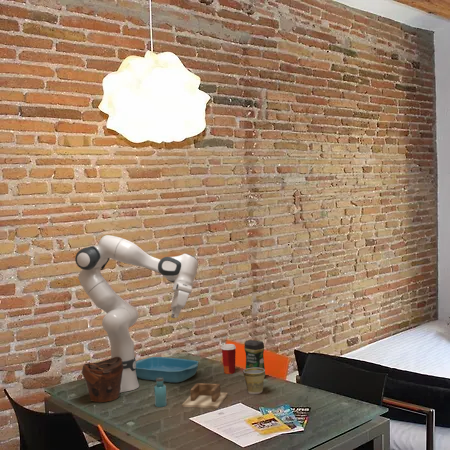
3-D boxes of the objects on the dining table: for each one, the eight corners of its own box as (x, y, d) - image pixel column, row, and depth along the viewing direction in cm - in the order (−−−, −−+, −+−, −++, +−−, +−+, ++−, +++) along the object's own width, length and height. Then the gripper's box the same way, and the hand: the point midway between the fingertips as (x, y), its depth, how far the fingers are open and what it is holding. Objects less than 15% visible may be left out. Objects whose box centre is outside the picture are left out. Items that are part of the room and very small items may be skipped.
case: (74, 402, 278) (72, 363, 277) (102, 389, 296) (101, 352, 295) (105, 407, 270) (103, 367, 269) (132, 394, 287) (131, 356, 287)
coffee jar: (242, 378, 304) (241, 341, 303) (252, 374, 310) (250, 337, 310) (259, 381, 298) (257, 343, 297) (268, 376, 304) (266, 339, 304)
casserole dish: (123, 379, 313) (122, 365, 313) (149, 367, 332) (148, 354, 332) (183, 387, 295) (183, 372, 295) (207, 374, 314) (207, 360, 314)
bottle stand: (181, 406, 266) (181, 393, 266) (194, 393, 283) (193, 380, 283) (217, 408, 262) (216, 394, 262) (227, 394, 279) (227, 381, 279)
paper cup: (237, 370, 319) (236, 343, 318) (236, 374, 311) (235, 347, 310) (222, 370, 319) (221, 343, 319) (221, 374, 312) (219, 347, 311)
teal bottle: (153, 406, 268) (152, 379, 267) (157, 403, 272) (156, 376, 272) (164, 407, 266) (163, 380, 266) (168, 403, 271) (166, 376, 271)
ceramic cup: (257, 396, 275) (256, 374, 274) (239, 393, 281) (238, 371, 280) (273, 388, 285) (272, 367, 285) (255, 385, 291) (254, 364, 291)
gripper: (172, 288, 294) (164, 316, 291) (179, 285, 274) (170, 315, 271) (185, 291, 295) (177, 320, 292) (192, 288, 275) (184, 319, 272)
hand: (174, 317), depth 281 cm, fingers open, 8 cm apart
